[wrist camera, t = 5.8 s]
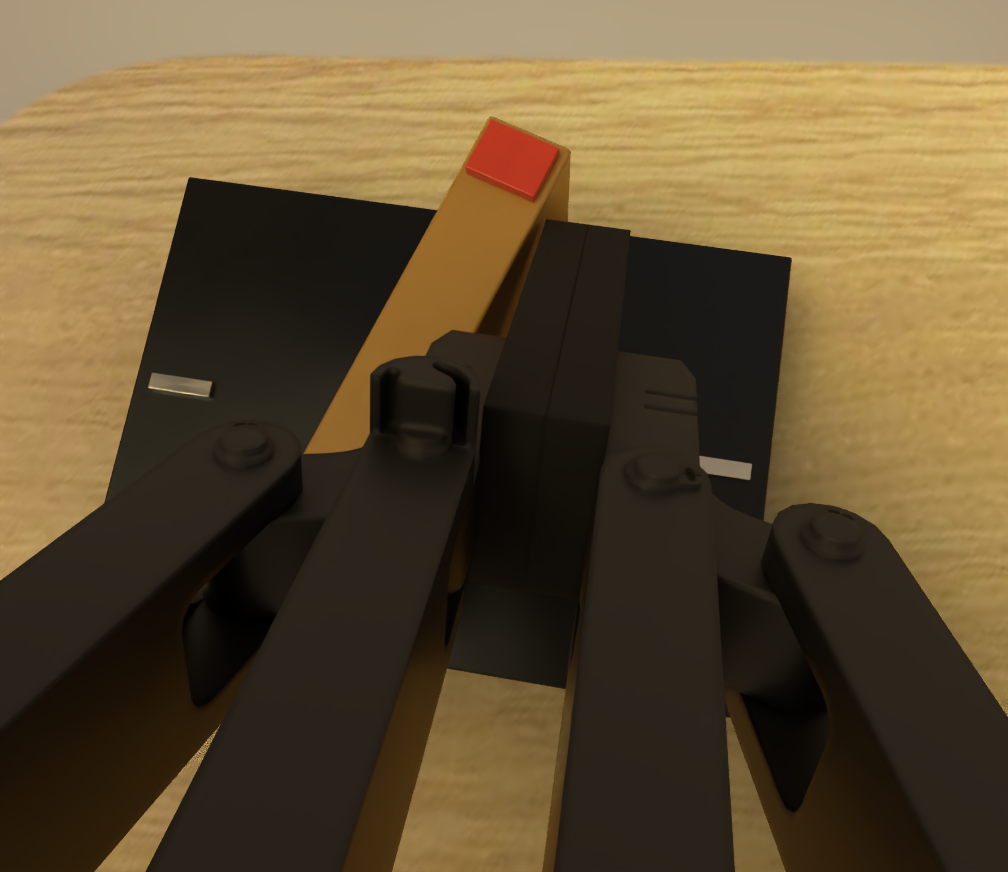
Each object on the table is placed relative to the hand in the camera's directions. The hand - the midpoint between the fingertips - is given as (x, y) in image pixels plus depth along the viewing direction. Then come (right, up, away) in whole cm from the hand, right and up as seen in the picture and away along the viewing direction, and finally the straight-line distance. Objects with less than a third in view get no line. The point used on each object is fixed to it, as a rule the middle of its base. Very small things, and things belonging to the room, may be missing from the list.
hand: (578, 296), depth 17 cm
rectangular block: (-3, -2, +3) cm, 5 cm away
